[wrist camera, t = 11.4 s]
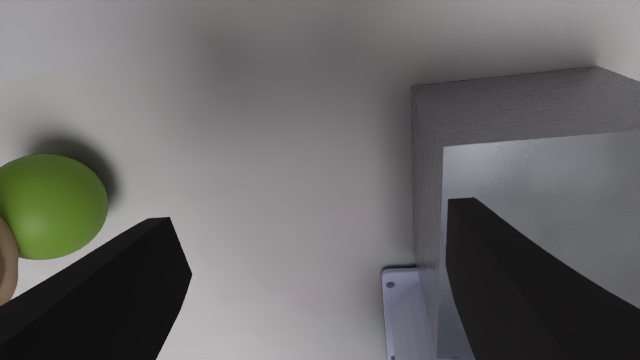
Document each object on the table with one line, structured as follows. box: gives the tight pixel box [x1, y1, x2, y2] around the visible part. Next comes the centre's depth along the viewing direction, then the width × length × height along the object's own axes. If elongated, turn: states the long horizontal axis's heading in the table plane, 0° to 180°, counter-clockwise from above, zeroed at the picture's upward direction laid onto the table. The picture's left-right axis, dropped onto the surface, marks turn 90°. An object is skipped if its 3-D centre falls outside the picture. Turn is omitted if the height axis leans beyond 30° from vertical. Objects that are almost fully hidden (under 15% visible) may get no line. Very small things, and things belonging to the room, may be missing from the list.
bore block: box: [412, 66, 640, 359], centre depth 16 cm, size 10×8×7 cm
